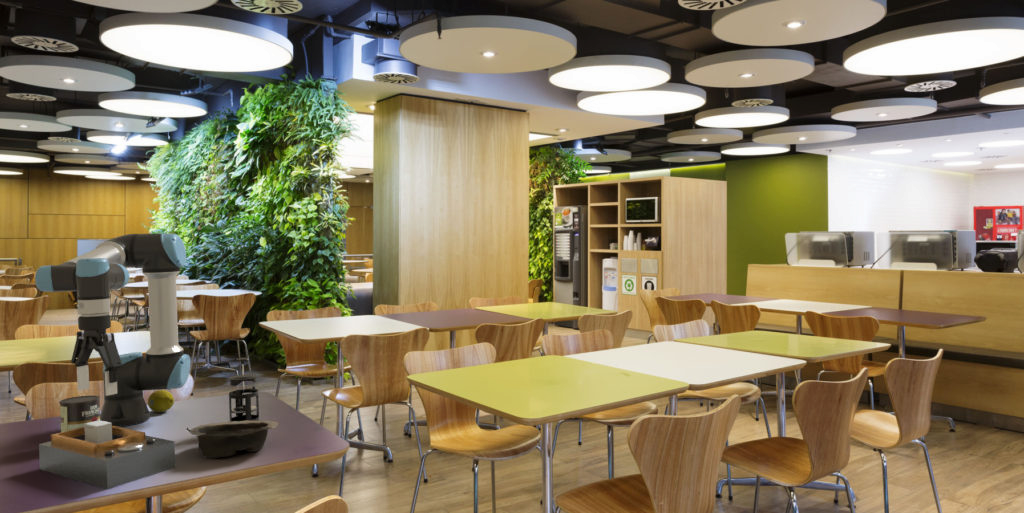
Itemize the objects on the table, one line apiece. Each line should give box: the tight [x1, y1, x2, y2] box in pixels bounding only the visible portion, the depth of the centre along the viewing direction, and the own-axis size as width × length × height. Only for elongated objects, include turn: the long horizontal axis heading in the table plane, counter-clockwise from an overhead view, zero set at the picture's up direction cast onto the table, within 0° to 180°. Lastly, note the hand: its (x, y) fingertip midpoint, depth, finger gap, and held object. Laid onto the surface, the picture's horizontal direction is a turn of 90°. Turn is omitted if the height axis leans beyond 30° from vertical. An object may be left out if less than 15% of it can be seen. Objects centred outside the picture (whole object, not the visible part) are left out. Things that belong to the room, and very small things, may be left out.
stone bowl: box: [186, 420, 279, 460], centre depth 195 cm, size 25×25×9 cm
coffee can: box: [59, 395, 101, 433], centre depth 202 cm, size 10×10×14 cm
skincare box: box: [85, 420, 112, 444], centre depth 181 cm, size 6×4×12 cm
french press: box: [227, 357, 260, 422], centre depth 218 cm, size 12×9×23 cm
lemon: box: [147, 389, 175, 413], centre depth 241 cm, size 11×8×8 cm
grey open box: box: [38, 426, 176, 490], centre depth 180 cm, size 32×18×9 cm, turn 61°
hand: (97, 392), depth 181 cm, fingers open, 13 cm apart
